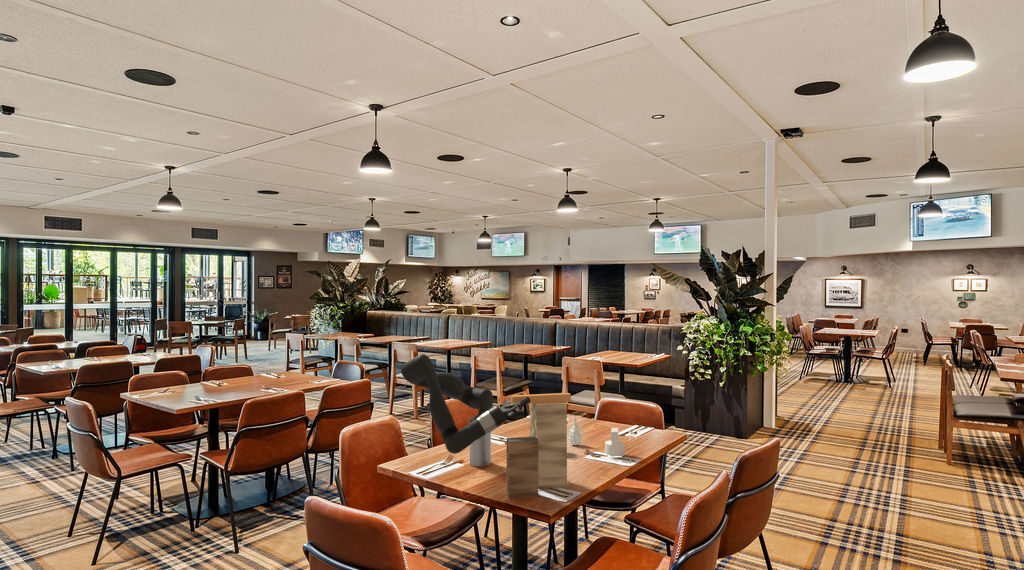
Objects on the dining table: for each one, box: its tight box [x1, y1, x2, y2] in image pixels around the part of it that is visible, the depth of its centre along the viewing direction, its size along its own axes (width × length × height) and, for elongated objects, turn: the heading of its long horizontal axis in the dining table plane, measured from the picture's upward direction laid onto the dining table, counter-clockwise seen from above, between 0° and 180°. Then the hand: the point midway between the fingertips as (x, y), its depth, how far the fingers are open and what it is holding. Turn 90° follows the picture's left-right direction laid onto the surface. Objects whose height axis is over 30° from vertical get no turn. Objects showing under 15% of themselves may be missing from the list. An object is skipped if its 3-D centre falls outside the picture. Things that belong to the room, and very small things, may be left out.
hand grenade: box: [568, 416, 585, 446], centre depth 276 cm, size 8×6×14 cm
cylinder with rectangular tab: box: [604, 427, 626, 456], centre depth 258 cm, size 9×9×12 cm
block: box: [506, 436, 539, 500], centre depth 206 cm, size 4×11×21 cm, turn 104°
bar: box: [509, 392, 572, 405], centre depth 219 cm, size 3×24×3 cm, turn 104°
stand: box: [529, 402, 571, 490], centre depth 220 cm, size 12×14×32 cm
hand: (526, 396), depth 218 cm, fingers open, 8 cm apart
